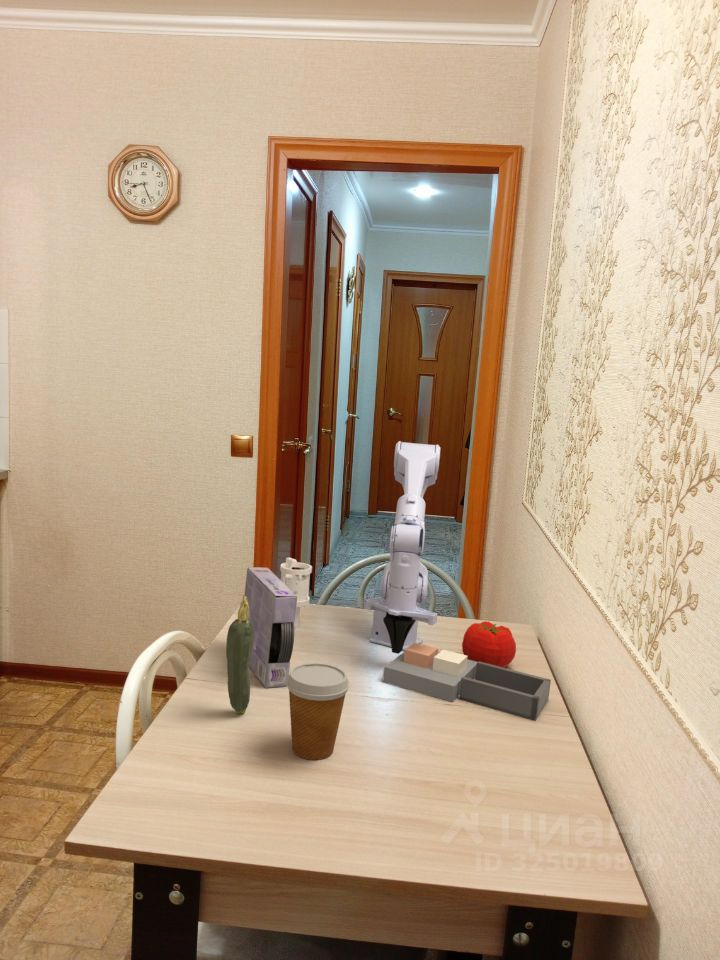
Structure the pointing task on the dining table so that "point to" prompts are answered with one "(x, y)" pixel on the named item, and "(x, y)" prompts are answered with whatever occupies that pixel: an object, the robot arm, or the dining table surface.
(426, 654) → the tile terracotta
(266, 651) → the cake pan box
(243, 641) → the vegetable
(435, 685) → the slate board
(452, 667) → the tile cream
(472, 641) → the tomato
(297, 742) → the disposable coffee cup
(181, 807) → the dining table surface
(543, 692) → the box
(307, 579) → the strainer
